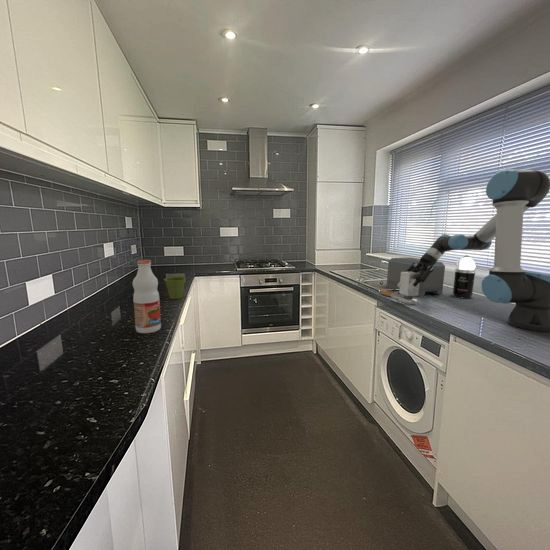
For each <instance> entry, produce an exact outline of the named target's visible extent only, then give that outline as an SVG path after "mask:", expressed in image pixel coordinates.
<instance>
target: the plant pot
mask: <svg viewBox="0 0 550 550" xmlns="http://www.w3.org/2000/svg"><path fill="white" fill-rule="evenodd" d="M186 280H187V278H186V277H184V276H170V277H166V278H164V279H163V281H164V282H165V285H166V288H167V292H168V295H169V299H170V300H176V299H177V300H180V299H183V297H184V290H185V289H184V288H185V282H186Z"/></svg>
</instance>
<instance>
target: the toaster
mask: <svg viewBox="0 0 550 550" xmlns="http://www.w3.org/2000/svg"><path fill="white" fill-rule="evenodd" d="M419 262H420V258H417V257H416V258H415V257H392V258H390V259H389V260H388V262H387V272H386V273H387V276H386V277H387V278H386V288H388V289H391V290H395V289H400V288H399V287H398V286H397V285H398V284H399V282H400V277H401V272H405V271H406V270H407V269H408V268H409V267H410V266H411V265H412V264H413V263H415V264H417V263H419ZM433 268H434V270H433V271H432V272H431V273H430V274H429V276H428V277H427V279H426V280H425V281H424V282H420V283H419V292H418V295H415V296H416V297H421V298H423V297H424V296H425V295H426V293H430V294H434V295H437V296H441V295H443V289H444V279H445V271H446V265H445V264H444V263H443V262H442V261H439V260H438V261H437V262H436V263H435V264H434V265H433ZM416 269H417V268H416ZM419 272H420V271H419ZM419 272H417V273H419Z"/></svg>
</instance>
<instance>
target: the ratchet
mask: <svg viewBox="0 0 550 550" xmlns="http://www.w3.org/2000/svg"><path fill="white" fill-rule="evenodd" d="M381 293H383V294H385V295H387V296H386V297H388V296H391V297H394V298H396V299H395V300H397V299H398V300H397V302H398V301H399V302H401V303H404V304H403V305H405V304H409V305H408V306H417V305H418V304H419V298H417V297H414V296H406V295H402V294H401V295H400V294H398V293H395V291H392V290H389V289H380V294H381ZM385 295H384V296H385ZM391 297H390V298H391ZM394 298H393V299H394ZM399 302H398V303H399ZM401 303H400V304H401ZM416 304H417V305H416Z"/></svg>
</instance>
